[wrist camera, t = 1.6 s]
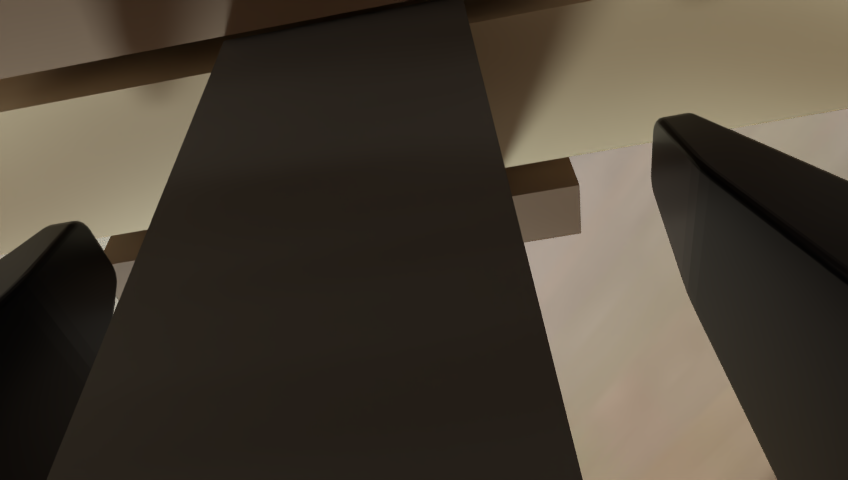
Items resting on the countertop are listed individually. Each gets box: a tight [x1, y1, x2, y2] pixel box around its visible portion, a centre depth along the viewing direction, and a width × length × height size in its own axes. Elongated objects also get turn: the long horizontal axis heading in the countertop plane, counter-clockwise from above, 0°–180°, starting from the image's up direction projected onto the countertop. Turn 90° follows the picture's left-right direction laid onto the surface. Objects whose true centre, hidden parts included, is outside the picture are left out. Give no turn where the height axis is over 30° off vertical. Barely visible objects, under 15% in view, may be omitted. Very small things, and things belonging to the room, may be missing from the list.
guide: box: [0, 0, 581, 300], centre depth 11 cm, size 5×8×2 cm
